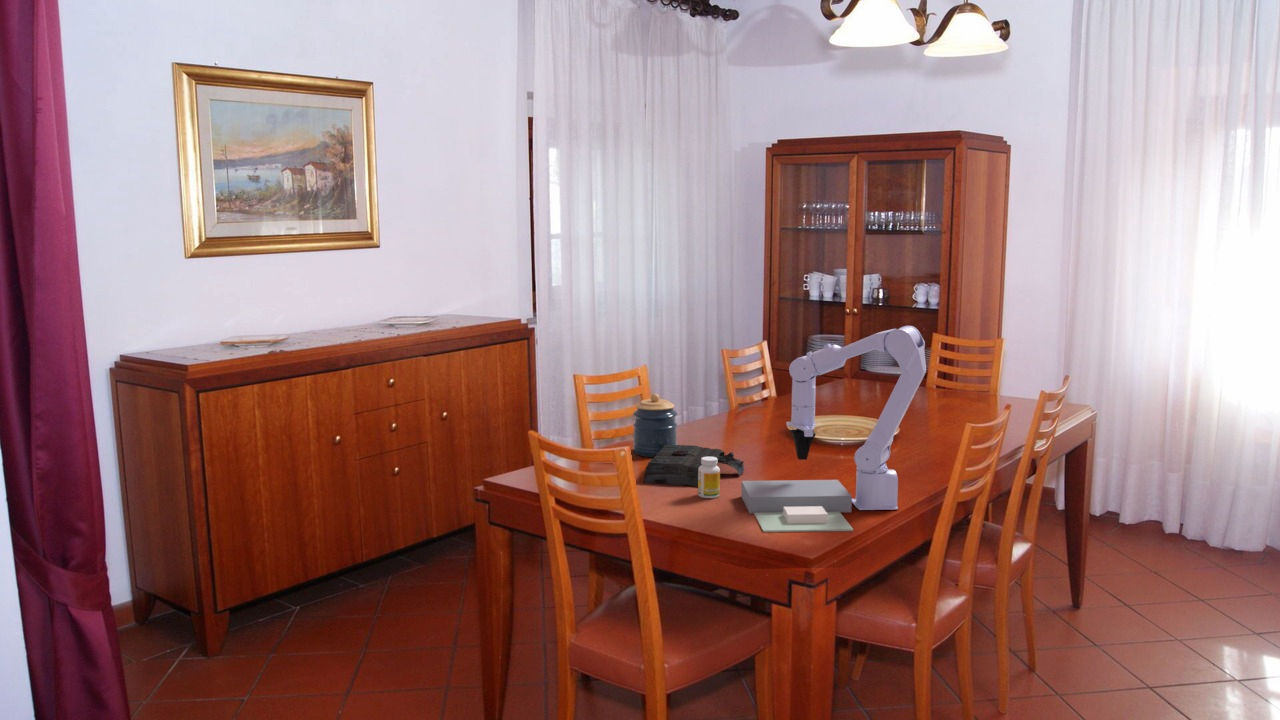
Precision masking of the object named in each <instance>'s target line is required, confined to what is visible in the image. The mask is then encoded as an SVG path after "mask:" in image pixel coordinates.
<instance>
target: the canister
mask: <svg viewBox="0 0 1280 720" xmlns="http://www.w3.org/2000/svg"><path fill="white" fill-rule="evenodd" d="M635 407H636V408H637V409H636V410H634V411H633V412H632V414H633V416H634V423H633V424H632V425H633V444H632V446H633V448H632V449H633V453H634V454H635V455H637V456H640V457H644V458H645V457H646V458H654V457H653V455H656V454H657V452H658V451H660V450H661V449H662V448H663V447H664V445H678V442H677V438H678V437H677V436H678V435H677V433H678V431H677V427H678V423H677V421H676V418H677V416H678V412H677V411H675V410H674V408H675V404H674V403H672V402H670V400H668V399H665V398H664V399H662V398H660V394H658V393H652V394H651V396H650V398H647V399H642V400H641V401H640V402H638V403H636V405H635Z"/></svg>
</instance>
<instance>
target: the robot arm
mask: <svg viewBox="0 0 1280 720" xmlns="http://www.w3.org/2000/svg"><path fill="white" fill-rule="evenodd" d="M925 343H926V341H925V340H924V338H923V336H922V334H921V332H920V331H919V329H917V327H915V326H913V325H904V326H901V327H899V328H898V329H897V328H891V329H888V330H883V331H880V332H877V333H873V334H871V335H869V336H867V337H866V336H865V337H863V338H861V339H860V340H857V341H855V342H852V343H850V344H847V345H845V346H840V345H837V344H831V343H827V344H825V345H824V346H823V348H821V349H818V350H816V351H814V352H812V351H809V352H806V355H802V356H800V357H796V358H795V359H794V360H793V361H791V363H790V365H789V368H788V370H789V376H790V377H791V379H792V383H791V384H792V385H791V417H790V418H791V419H790V420H791V421H786V426H787V427H792V428H795V429H790V431H789V432H790V433H791V436H792V438H793V442H794V446H795V453H796V458H797V460H799V461H801V460H804V461H805V460H807V459H808V457H809V453H810V449H811V445H812V443H813V441H814V439H815V438H816V432H815V430H814V429H815V427H816V425H817V424H816V392H817V391H816V388H817V387H816V380H817V379H816V378H817V376H822V375H824V374H826V373H830V372H832V371H835V370H838V369H840V368H843V367H844V366H845V364H846V361H847V360H848V359H851V358H854V357H856V356H860V355H863V354H866V353H869V352H871V351H874V350H875V351H877V352H878V351H879V352H882V353H885V352H888V353H889V354H890V355H891V356H892V358H894V359H895V361H896V362H897V364H898V366H899V369H900V370H901V374H900V375H899V378H898V380H897V382H896V384H895V386H894V387H893V389H892V392H891V393H890V396H889V398H888V400H887V401H886V404H885V406H884V408H883V410H882V412H881V414H880V416H879V418H878V420H877V422H876V424H875V426H874V427H873V430H872V431H871V433H870V434H869V436H868V437H867V439H866V440H865V442H864V443H863V445H862V446H860V447H859V448H858V449H857V450H856V451H855V453H854V457H853V458H854V463H855V465H856V474H855V476H856V479H855V480H856V481H855V482H856V483H855V498H852V504H853V505H854V506H855V508H856V509H858V510H859V511H876V510H877V511H880V510H881V511H884V510H888V511H890V510H891V511H894V510H898V509H899V507H898V491H899V479H898V474H897V472H896V470H895V469H891V468H890V469H889V468H888V465H887V463H886V462H887V461H888V460H889V459H890V457H891V446H892V444H893V442H894V436H895V434H896V433H897V430H898V429H899V426H900V425H901V422H902V420H903V418H904V416H905V415H906V413H907V411H908V409H909V406H910V405H911V403H912V401H913V399H914V397H915V395H916V393H917V391H918V389H919V386H920V385H921V383H922V381H923V379H924V377H925V375H926V373H927V363H926V354H925V353H926V352H925V347H926V344H925Z"/></svg>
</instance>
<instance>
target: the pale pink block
mask: <svg viewBox="0 0 1280 720" xmlns="http://www.w3.org/2000/svg"><path fill="white" fill-rule="evenodd" d="M783 516H784V517H785V519H786V521H787V522H788V523H828V514H827V512H826V511H825V510H824V508H823V507H822V506H806V507H783Z"/></svg>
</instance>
